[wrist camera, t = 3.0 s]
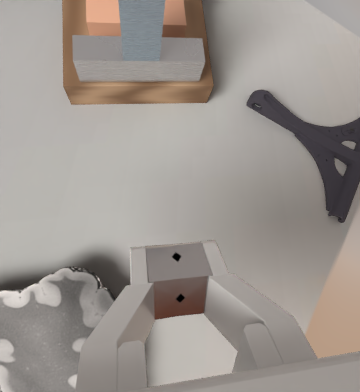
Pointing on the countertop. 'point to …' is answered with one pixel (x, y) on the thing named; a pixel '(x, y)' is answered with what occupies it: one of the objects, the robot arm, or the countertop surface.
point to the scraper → (138, 50)
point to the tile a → (103, 17)
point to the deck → (132, 90)
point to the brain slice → (49, 330)
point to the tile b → (174, 19)
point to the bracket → (321, 150)
